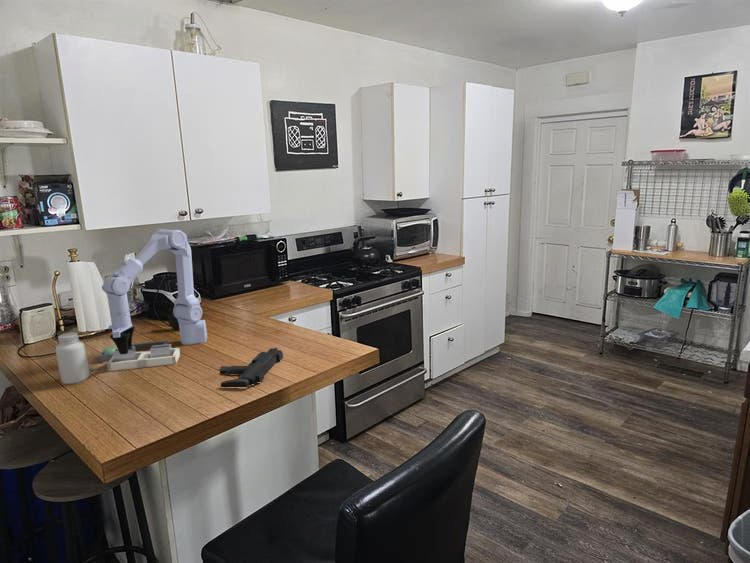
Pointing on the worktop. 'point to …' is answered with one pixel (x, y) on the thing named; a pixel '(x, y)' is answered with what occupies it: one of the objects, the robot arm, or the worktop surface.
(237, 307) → the worktop surface
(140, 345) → the tote
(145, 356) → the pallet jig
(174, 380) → the worktop surface
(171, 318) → the rock
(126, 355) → the block
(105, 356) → the button housing
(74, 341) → the pill bottle
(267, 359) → the firearm
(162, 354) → the seated billet
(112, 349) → the button
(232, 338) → the worktop surface
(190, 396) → the worktop surface
